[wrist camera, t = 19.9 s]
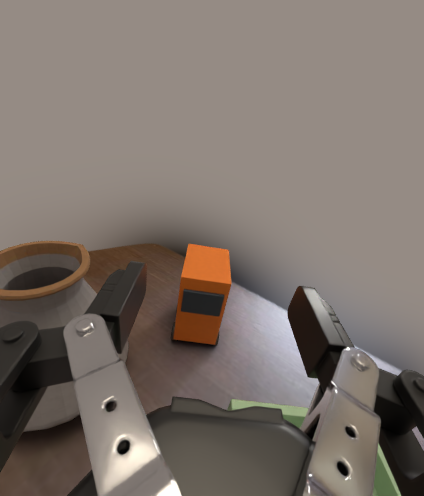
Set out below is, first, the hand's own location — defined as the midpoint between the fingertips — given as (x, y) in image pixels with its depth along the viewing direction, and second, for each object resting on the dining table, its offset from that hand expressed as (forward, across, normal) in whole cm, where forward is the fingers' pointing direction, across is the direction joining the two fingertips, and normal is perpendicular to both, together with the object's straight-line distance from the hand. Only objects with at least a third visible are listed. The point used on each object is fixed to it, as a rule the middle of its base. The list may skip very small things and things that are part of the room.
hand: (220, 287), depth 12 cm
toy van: (+11, 0, +16) cm, 19 cm away
